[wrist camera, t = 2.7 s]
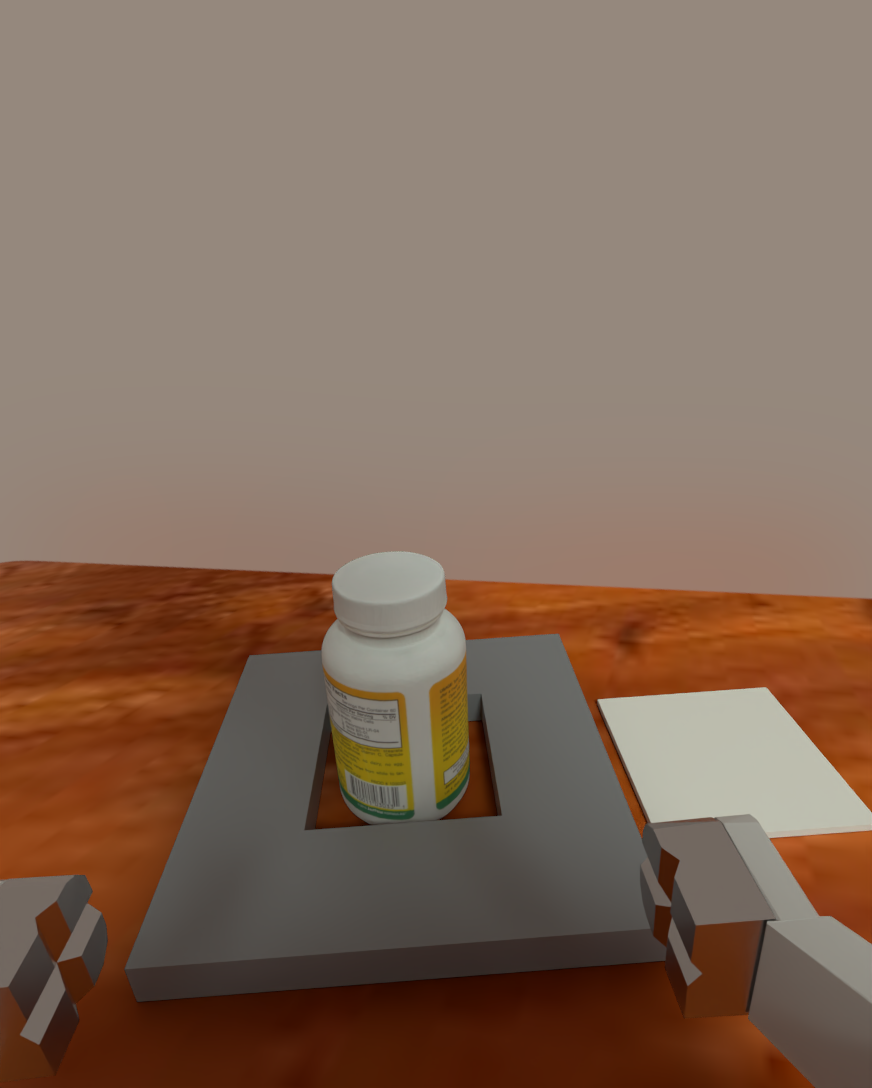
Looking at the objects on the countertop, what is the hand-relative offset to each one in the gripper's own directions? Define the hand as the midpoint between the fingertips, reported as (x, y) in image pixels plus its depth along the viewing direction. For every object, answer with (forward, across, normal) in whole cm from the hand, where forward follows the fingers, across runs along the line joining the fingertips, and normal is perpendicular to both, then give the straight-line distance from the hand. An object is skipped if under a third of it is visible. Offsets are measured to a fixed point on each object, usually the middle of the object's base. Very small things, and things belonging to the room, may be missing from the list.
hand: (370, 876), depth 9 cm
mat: (+14, -12, +12) cm, 22 cm away
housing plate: (+14, 0, +11) cm, 18 cm away
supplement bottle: (+14, 0, +12) cm, 18 cm away
